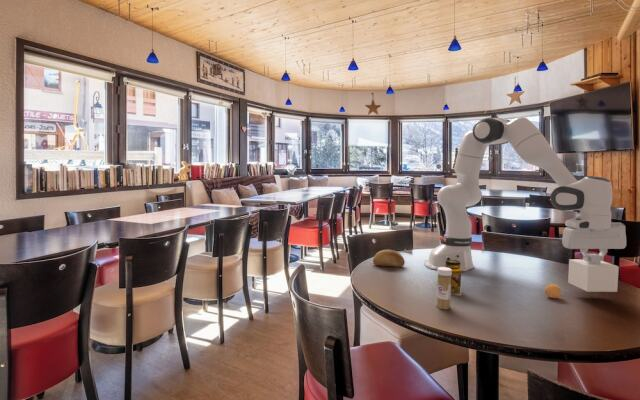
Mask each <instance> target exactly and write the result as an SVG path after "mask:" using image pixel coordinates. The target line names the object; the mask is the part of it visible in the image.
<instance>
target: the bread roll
mask: <svg viewBox="0 0 640 400" xmlns="http://www.w3.org/2000/svg"><path fill="white" fill-rule="evenodd" d="M405 262H406V261H405V259H404V257H403V256H402V254H400V252H398V251H396V250H395V249H393V250H392V249H381V250H379V251H378V252H376V253H375V254H374V255H373V258H372V264H374V265H375V266H376V267H377V266H380V267H395V268H400V267H403V266H404V265H405Z"/></svg>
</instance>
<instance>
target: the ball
mask: <svg viewBox="0 0 640 400" xmlns="http://www.w3.org/2000/svg"><path fill="white" fill-rule="evenodd" d="M544 293H545V295H546V296H547V297H548V298H549V299H550V298H551V299H557V298H560V296H562V290H561V287H560V286H559V285H557V284H554V283H550V284H547V285H546V286H545V288H544Z"/></svg>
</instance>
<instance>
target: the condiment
mask: <svg viewBox="0 0 640 400" xmlns="http://www.w3.org/2000/svg"><path fill="white" fill-rule="evenodd" d="M445 267H447V268H450V269H452V275H451V296H463V294H462V293H463V292H462V289H461V286H462V284H461V283H462V271H461V268H460V261H458V260H446V264H445Z"/></svg>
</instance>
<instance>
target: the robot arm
mask: <svg viewBox="0 0 640 400" xmlns="http://www.w3.org/2000/svg"><path fill="white" fill-rule="evenodd" d="M508 143H509V144H510V145H511V147H512V148H513V149H514V151H515V152H516V154H517V156H518V157H520V159H522V160H523V162H525V163H526V164H528V165H532V166H534V167H537V168H540V169H541V170H543V171H544V172H547V174H548V175H549V176H550V177H551V179H552V180H553V181H554V182H555V183H556V185H558V187H556V188H555V189H553V191H552V192H551V193H550V198H549V200H550V203H551V205H552V206H553V207H554V208H555V209H556V210H559V211H563V212H570V211H571V212H573V211H579V212H580V213H579V214H580V215H579V216H575V217H573V218H570V219H567V220H565V222H564V224H565V226H566V227H565V228H564V229H563V233H562V240H561V244H562V246H563V247H564V248H566V249H569V250H572V249H573V250H575V249H576V250H579V252H580V253H581V255H582V259H583V260H584V261H590V258H591V256H588V255H587V254H588V251H589V250H593V249H594V250H597V249H599V250H598V251H599V253H598V255H601V261H604V257H605V255H606V254H607V253H608V250H610V249H614V250H620V249H621V250H622V249H623V250H624V249H625V248H626V247H627V235H626V234H627V233H626V225H625V224H624V223H622V222H620V221H619V222H618V221H617V222H616V221H615V222H614V221H612V212H611V210H612V209H611V207H612V203H613V186H612V182H611V180H609V179H608V178H606V177H602V176H601V177H600V176H596V175H595V176H593V175H587V176H584V177H583V178H581V179H579V180H578V178H576V176H575V175H574V173H573V172H572V171H571V170H570V168H569V167H568V166H567V165H566V164H565V163H564V161H562V159H561V158H560V157H559V156H558V154H557V153H556V152H555V150H554V149H553V148H552V146H551V144H550V143H549V142H548V140H547V139H546V138H545V136H544V134H543V133H542V132H541V131H540V129H539V128H538V127H537V126H536V125H535V124H534V122H532V121H531V120H530V119H528V118H527V117H525V116H524V117H523V116H521V117H520V116H518V117H516V118H514V119H512V120H509V119H506V118H501V117H484V118H481V119H478V120H477V121H476V122H475V123H474V125H473V127H472V130H470V131H466V133H465V134H464V135H463V138H462V140H461V143H460V145H459V148H458V152H457V154H456V155H457V156H456V158H455V162H454V166H453V167H454V168H453V170H454V173H455V174H456V183H455V184H448V185H446V186H443V187H441V188H440V189H439V190H438V192H437V194H436V196H437V197H436V198H437V202H438V203H439V205H440V206H441V207H442V209H443V211H444V214H445V222H446V223H445V225H446V226H445V227H446V228H445V229H446V230H445V233H446V234H445V235H444V236H443V235H440V236H439V237H438V240H440V241H441V244H439V245H437V246H436V247H435V248H433V249H432V250H431V251H430V252H429V255H428V259H425V260H424V261H423V264H424V266H425V267H426V268H427V269H431V270H436V271H437V270H438V268H439V267H445V264H446V260H458V261H460V268H461V272H468V271H469V270H471V269H474V267H475V266H474V262H473V258H472V257H473V256H472V247H473V238H472V219H471V218H470V217H469V215H468V214H467V207H473V206H474V205H476V204H478V203H479V202H481V200H482V196H483V194H482V193H483V192H482V190H481V188H480V173H481V169H482V164H483V161H484V156H485V153H486V150H487V148H488V147H489V146H490V145H491V146H496V145H498V146H499V145H505V144H508Z"/></svg>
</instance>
